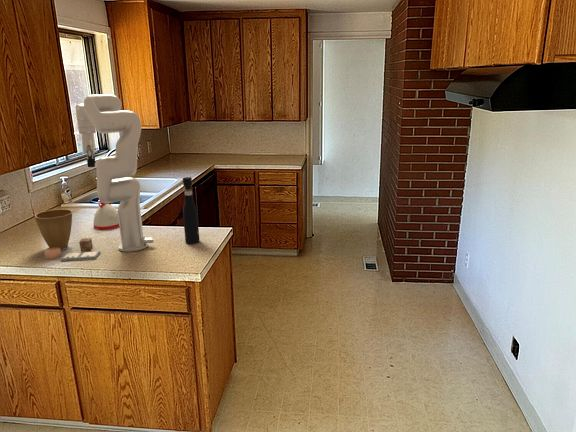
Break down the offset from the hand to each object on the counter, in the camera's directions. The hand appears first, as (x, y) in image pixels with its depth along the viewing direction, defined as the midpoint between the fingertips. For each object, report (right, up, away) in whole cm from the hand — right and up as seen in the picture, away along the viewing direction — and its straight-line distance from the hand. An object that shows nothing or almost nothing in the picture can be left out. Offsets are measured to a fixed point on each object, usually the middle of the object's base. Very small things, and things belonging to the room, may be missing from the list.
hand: (91, 165), depth 223 cm
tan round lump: (-4, -43, -29) cm, 52 cm away
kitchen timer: (+2, -30, +14) cm, 34 cm away
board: (+8, -42, -30) cm, 53 cm away
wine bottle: (+53, -37, -15) cm, 66 cm away
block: (+7, -40, -22) cm, 46 cm away
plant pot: (-7, -39, -17) cm, 43 cm away
